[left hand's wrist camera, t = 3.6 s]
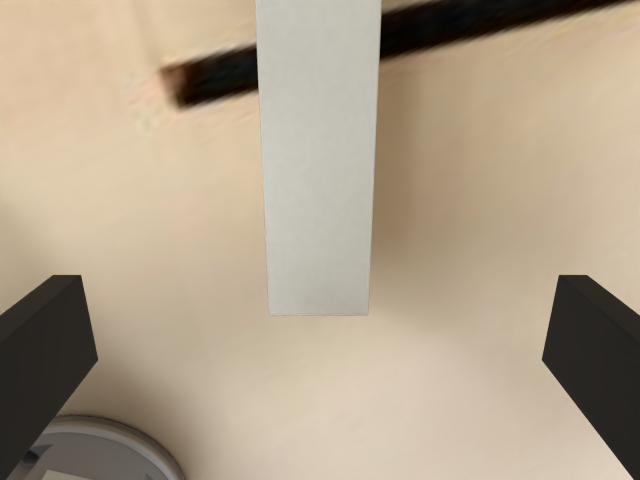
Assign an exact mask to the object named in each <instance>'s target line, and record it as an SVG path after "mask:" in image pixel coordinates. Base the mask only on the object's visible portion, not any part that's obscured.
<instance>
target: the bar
mask: <svg viewBox="0 0 640 480" xmlns="http://www.w3.org/2000/svg"><path fill="white" fill-rule="evenodd" d="M381 7H382V0H255V15H256V38H257V60H258V82H259V104H260V127H261V149H262V171H263V194H264V216H265V238H266V260H267V283H268V305H269V315H270V316H367V315H368V313H369V289H370V266H371V242H372V219H373V195H374V172H375V148H376V125H377V101H378V78H379V54H380V31H381Z"/></svg>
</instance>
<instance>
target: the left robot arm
mask: <svg viewBox="0 0 640 480" xmlns="http://www.w3.org/2000/svg"><path fill="white" fill-rule="evenodd" d="M97 361H98V356H97V351H96V346H95V342H94V337H93V332H92V327H91V322H90V317H89V312H88V307H87V302H86V297H85V292H84V287H83V282H82V277H81V275H53V276H51V277H50V278H49V279H47V280H46V281H45V282H43V283H42V284H41V285H39V286H38V287H37V288H36V289H34V290H33V291H32V292H30V293H29V294H28V295H26V296H25V297H24V298H22V299H21V300H20V301H19V302H17V303H16V304H15V305H13V306H12V307H11V308H9V309H8V310H7V311H5V312H4V313H3V314H2V315H0V480H185V478H184V476H183V474H182V472H181V470H180V468H179V467H178V465H177V464H176V462H175V461H174V459H173V458H172V457H171V456H170V455H169V454H168V453H167V452H166V451H165V450H164V449H163V448H162V447H161V446H160V445H159V444H157V443H156V442H155V441H153V440H152V439H150V438H149V437H147V436H146V435H144V434H142V433H141V432H139V431H137V430H135V429H133V428H130V427H128V426H126V425H123V424H120V423H117V422H114V421H110V420H106V419H101V418H95V417H87V416H65V417H57V418H54V417H55V415H56V414H57V413H58V412H59V410H60V409H61V408H62V406H63V405H64V404H65V402H66V401H67V400H68V399H69V397H70V396H71V395H72V393H73V392H74V391H75V389H76V388H77V387H78V386H79V384H80V383H81V382H82V380H83V379H84V378H85V376H86V375H87V374H88V372H89V371H90V370H91V369H92V367H93V366H94V365H95V363H96V362H97ZM542 361H543V362H544V363H545V365H546V366H547V367H548V369H549V370H550V371H551V372H552V374H553V375H554V376H555V378H556V379H557V380H558V382H559V383H560V384H561V386H562V387H563V388H564V389H565V391H566V392H567V393H568V395H569V396H570V397H571V399H572V400H573V401H574V402H575V404H576V405H577V406H578V408H579V409H580V410H581V412H582V413H583V414H584V415H585V417H586V418H587V419H588V421H589V422H590V423H591V425H592V426H593V427H594V428H595V430H596V431H597V432H598V434H599V435H600V436H601V438H602V439H603V440H604V441H605V443H606V444H607V445H608V447H609V448H610V449H611V451H612V452H613V453H614V455H615V456H616V457H617V458H618V460H619V461H620V462H621V464H622V465H623V466H624V468H625V469H626V470H627V471H628V473H629V474H630V475H631V477H632V478H633V479H634V480H640V315H638V314H637V313H636V312H635V311H633V310H632V309H631V308H629V307H628V306H627V305H625V304H624V303H623V302H621V301H620V300H619V299H618V298H616V297H615V296H614V295H612V294H611V293H610V292H608V291H607V290H606V289H604V288H603V287H602V286H601V285H599V284H598V283H597V282H595V281H594V280H593V279H591V278H590V277H589V276H587V275H559V277H558V282H557V287H556V292H555V297H554V302H553V307H552V312H551V317H550V322H549V327H548V332H547V337H546V341H545V346H544V351H543V356H542Z"/></svg>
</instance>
